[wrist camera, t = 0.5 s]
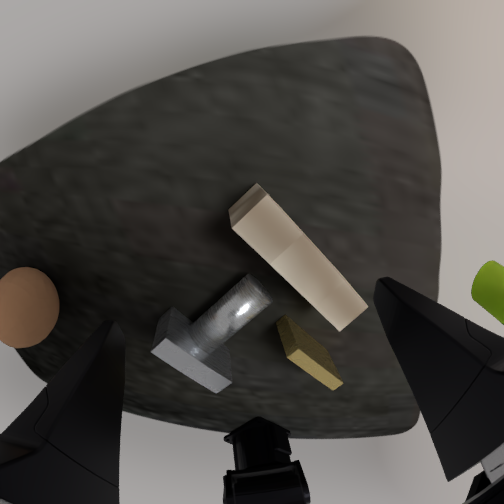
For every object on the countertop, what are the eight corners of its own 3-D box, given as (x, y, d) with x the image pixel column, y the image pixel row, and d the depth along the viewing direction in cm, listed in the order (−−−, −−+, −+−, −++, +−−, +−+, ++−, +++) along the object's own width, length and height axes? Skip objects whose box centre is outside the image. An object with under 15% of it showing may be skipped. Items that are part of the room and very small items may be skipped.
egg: (11, 255, 22) (-38, 296, 14) (62, 252, 22) (14, 299, 15) (29, 313, 24) (-8, 362, 16) (78, 315, 25) (45, 372, 17)
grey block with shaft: (215, 359, 28) (216, 393, 24) (158, 319, 26) (150, 351, 22) (284, 303, 27) (296, 333, 22) (228, 252, 24) (231, 278, 20)
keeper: (318, 357, 30) (333, 390, 25) (275, 322, 27) (287, 357, 23) (327, 350, 29) (343, 383, 25) (285, 314, 27) (298, 348, 22)
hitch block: (321, 301, 27) (339, 331, 23) (228, 209, 23) (231, 228, 18) (345, 279, 27) (368, 306, 22) (256, 182, 22) (267, 194, 18)
